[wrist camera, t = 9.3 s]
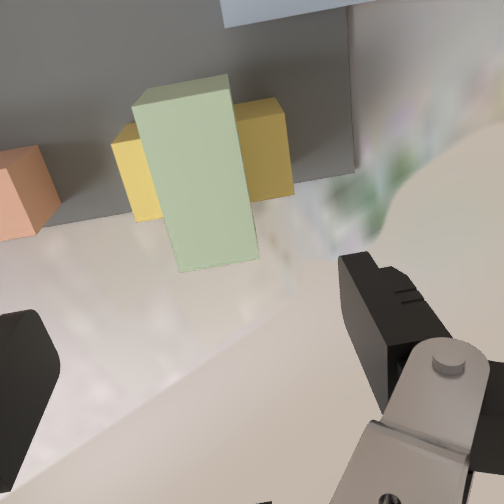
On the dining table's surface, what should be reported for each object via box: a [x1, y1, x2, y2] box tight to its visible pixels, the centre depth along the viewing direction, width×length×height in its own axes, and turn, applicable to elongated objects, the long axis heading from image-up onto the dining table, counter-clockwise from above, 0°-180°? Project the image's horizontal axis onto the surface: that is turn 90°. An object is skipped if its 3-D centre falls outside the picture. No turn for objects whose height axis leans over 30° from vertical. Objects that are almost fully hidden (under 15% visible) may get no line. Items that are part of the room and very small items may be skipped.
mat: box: [0, 0, 355, 228], centre depth 23 cm, size 22×13×1 cm, turn 99°
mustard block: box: [111, 97, 295, 223], centre depth 23 cm, size 8×4×4 cm, turn 99°
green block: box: [131, 74, 260, 273], centre depth 19 cm, size 7×4×4 cm, turn 9°
